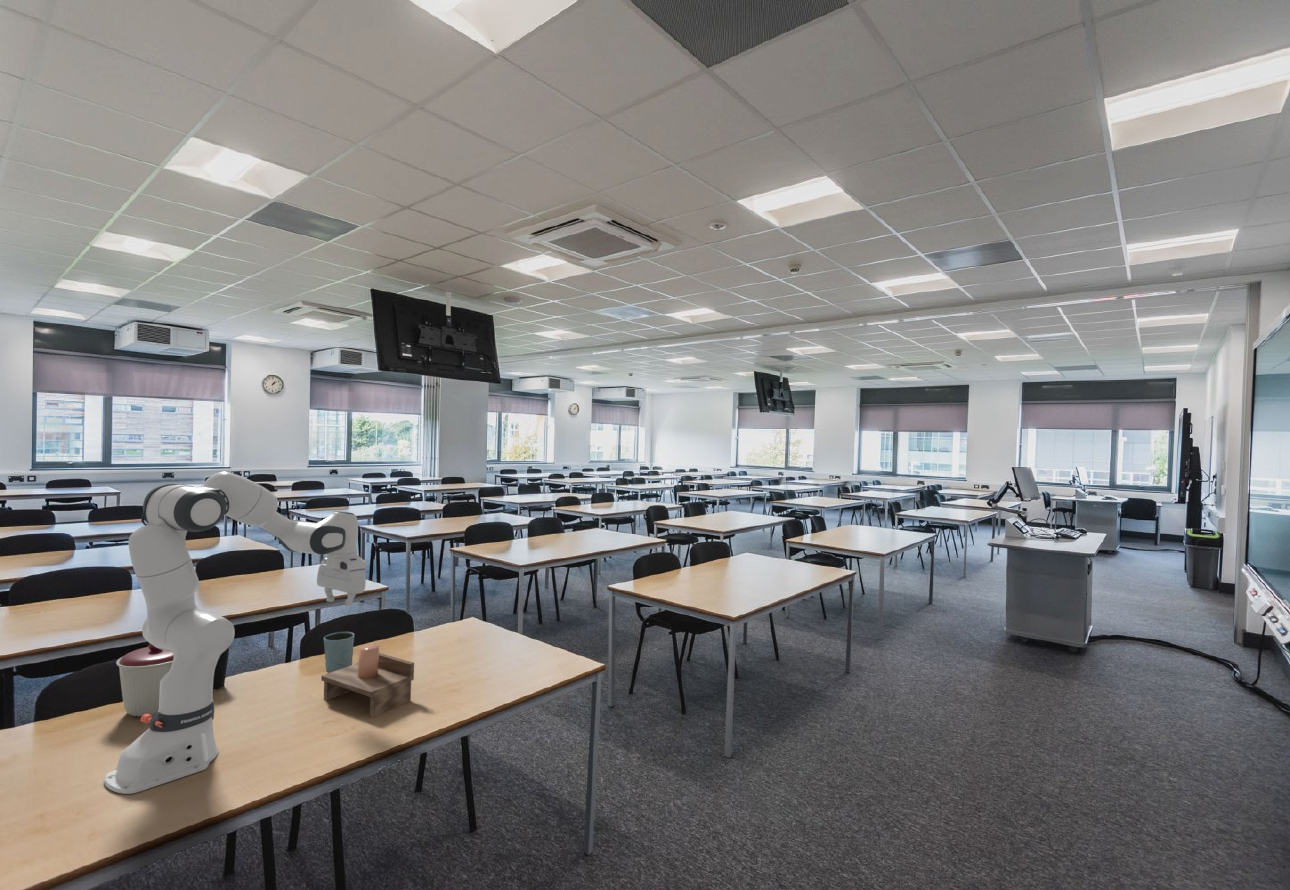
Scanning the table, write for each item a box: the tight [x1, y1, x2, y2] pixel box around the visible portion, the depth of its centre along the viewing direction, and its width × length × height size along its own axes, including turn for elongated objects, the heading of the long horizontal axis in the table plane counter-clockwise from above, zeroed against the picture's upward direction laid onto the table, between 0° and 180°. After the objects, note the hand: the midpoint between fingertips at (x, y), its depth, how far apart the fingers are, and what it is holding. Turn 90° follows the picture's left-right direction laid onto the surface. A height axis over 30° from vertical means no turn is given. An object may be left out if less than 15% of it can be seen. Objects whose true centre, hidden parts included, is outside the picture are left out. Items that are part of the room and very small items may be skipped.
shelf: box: [320, 652, 415, 718], centre depth 193 cm, size 16×24×12 cm, turn 62°
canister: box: [115, 643, 174, 718], centre depth 181 cm, size 18×18×21 cm
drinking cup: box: [213, 645, 231, 691], centre depth 198 cm, size 8×8×20 cm
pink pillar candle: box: [357, 644, 380, 679], centre depth 193 cm, size 6×6×9 cm
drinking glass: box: [323, 631, 355, 673], centre depth 218 cm, size 10×10×12 cm
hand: (339, 603), depth 192 cm, fingers open, 8 cm apart
